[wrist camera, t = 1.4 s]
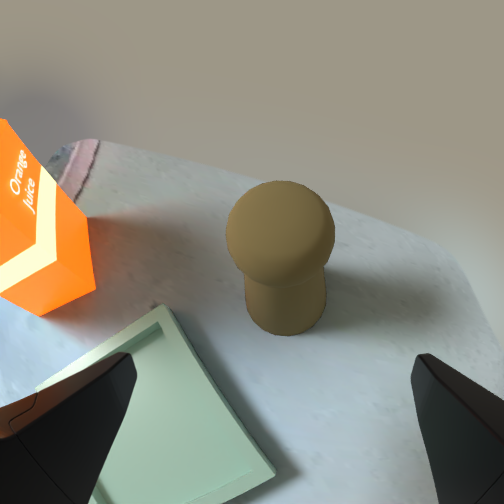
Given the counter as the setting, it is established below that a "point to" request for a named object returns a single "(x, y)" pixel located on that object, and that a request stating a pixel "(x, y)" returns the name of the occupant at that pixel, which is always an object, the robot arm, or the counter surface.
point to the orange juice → (38, 234)
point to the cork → (282, 254)
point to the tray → (172, 424)
